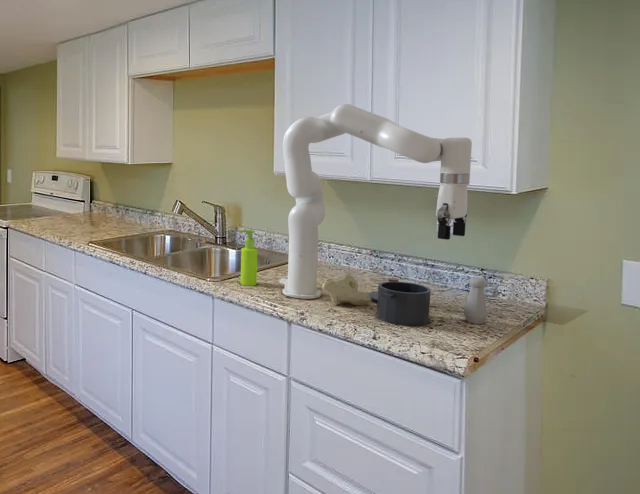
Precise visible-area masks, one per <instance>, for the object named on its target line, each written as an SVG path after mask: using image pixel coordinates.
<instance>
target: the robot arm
mask: <svg viewBox="0 0 640 494" xmlns="http://www.w3.org/2000/svg"><path fill="white" fill-rule="evenodd" d="M344 134H347V135H350V136H352V137H355V138H358V139H360V140H363V141H365V142H367V143H369V144H372V145H375V146H377V147H380V148H382V149H386V150H388V151H391V152H394V153H396V154H398V155H401V156H403V157H405V158H408V159H411V160H413V161H416V162H418V163H421V164H428V163H432V162H433V163H434V162H440V172H439V173H440V174H439V185H440V186H439V188H438V194H437V200H436V201H437V202H436V211H435V216H436V218H437V239H439V240H446V241H447V240H450V239H451V230H452V236H458V237H464V236H465V235H466V225H467V224H466V222H467V217H468V214H467V213H468V209H469V208H468V202H469V201H468V199H469V197H468V186H470V181H471V180H470V178H471V164H472V163H471V162H472V147H473V142H472V140H471V138H469V137H447V138H437V137H430V136H428V135H424V134H422V133H419V132H417V131H414V130H411V129H409V128H406V127H405V126H402V125H400V124H398V123H396V122H395V121H392V120H391V119H389V118H386V117H384V116H381V115H378V114H376V113H373V112H370V111H369V110H365V109H364V108H363V109H362V108H360V107H357V106H355V105H352V104H348V103H342V104H339V105H337V106H336V107H335V108H334V109H333V110H332V111H331V112H327V113H325V114H322V115H319V116H317V117H313V116H305V117H301V118H299V119H297V120H296V121H294V122H293V123H292V124H290V126H289V127H288V128H287V130H286V131H285V133H284V134H283V139H282V154H283V155H282V156H283V162H284V163H283V164H284V171H285V172H284V173H285V179H286V189H287V192H288V194H289V195H290V196H291V197H293V198H295V205H294V206H293V207H292V208H291V209H290V211H289V213H288V217H287V225H288V257H287V258H288V259H287V262H288V263H287V277H281V278H280V280H279V281H278V283H279V284H280V285H284V288H282V294H283V295H284V296H287V297H289V298H294V299H302V300H303V299H304V300H307V299H308V300H313V299H318V298H320V297H321V296H322V292H321V291H320V290H319V289H317V285H318V284H317V283H318V281H317V280H318V264H319V263H318V262H319V260H318V259H319V226H320V225H321V224H322V223H323V222H324V220H325V216H326V209H325V200H324V193H323V185H322V181H321V178H320V177H319V175H318V174H317V173H316V172H315V171H313V168H312V160H311V159H312V158H311V154H310V151H309V149H310V148H309V146H310V144H318V143H321V142H324V141H327V140H330V139H333V138H336V137H339V136H341V135H344ZM452 220H454V221H453V224H452V226H451V222H452ZM451 227H452V229H451Z"/></svg>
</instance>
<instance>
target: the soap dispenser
mask: <svg viewBox="0 0 640 494" xmlns="http://www.w3.org/2000/svg"><path fill="white" fill-rule="evenodd" d="M238 232H239V233H247V238H245V239H244V247H242V248H240V280H239V281H240V282H239V283H240V285H243V286H247V287H249V286H256V285H257V283H258V257H259V256H258V253H259V249H258V248H256V247H255V241H256V240H255V238H254V237H253V234H254V233H255V230H254V229H241V230H238Z"/></svg>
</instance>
